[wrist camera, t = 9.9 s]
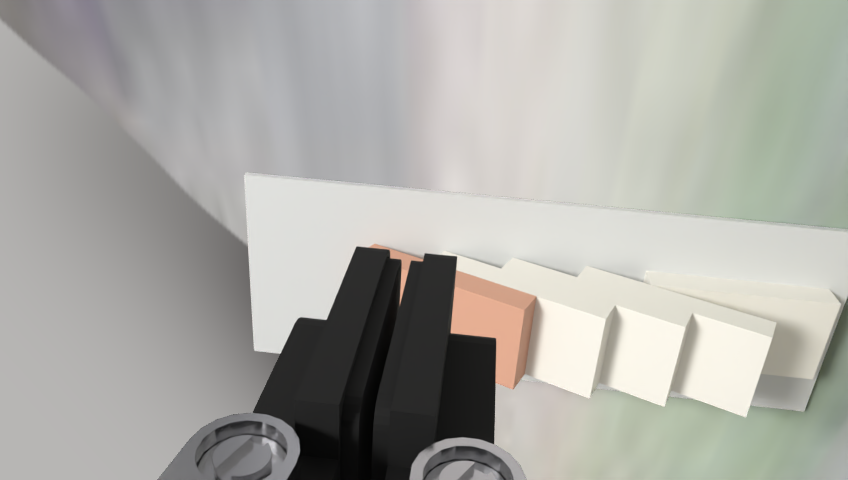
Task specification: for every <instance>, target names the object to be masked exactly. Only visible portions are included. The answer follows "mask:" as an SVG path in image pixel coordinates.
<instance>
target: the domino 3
mask: <svg viewBox="0 0 848 480" xmlns="http://www.w3.org/2000/svg"><path fill="white" fill-rule="evenodd" d="M501 269H504V270H507V271H510V272H513V273H516V274H520V275H523V276H526V277H529V278H532V279H535V280H538V281H542V282H545V283H548V284H551V285H554V286H557V287H560V288H564V289H567V290H570V291H573V292H576V293H579V294H582V295H586V296H589V297H592V298H595V299H598V300H601V301H604V302H608V303H611V304H614V305H615V309H614V314H613V319H612V323H611V328H610V333H609V338H608V342H607V347H606V352H605V357H604V361H603V366H602V371H601V376H600V380H599V383H601V384H603V385H606V386H609V387H612V388H614V389H617V390H620V391H622V392H625V393H628V394H631V395H633V396H636V397H639V398H641V399H644V400H647V401H650V402H652V403H655V404H658V405H660V406H663V407H665V405H666V402H667V400H668V398H669V395H670V393H671V391H672V387H673V383H674V380H675V376H676V372H677V369H678V365H679V361H680V357H681V354H682V350H683V346H684V342H685V339H686V335H687V331H688V328H689V324H690V320H691V316H692V313H691V312H688V311H685V310H682V309H678V308H675V307H672V306H669V305H665V304H662V303H659V302H656V301H652V300H649V299H646V298H643V297H639V296H636V295H633V294H630V293H627V292H623V291H620V290H617V289H614V288H610V287H607V286H604V285H601V284H597V283H594V282H591V281H588V280H584V279H581V278H578V277H575V276H572V275H568V274H565V273H562V272H559V271H555V270H552V269H549V268H546V267H542V266H539V265H536V264H533V263H529V262H526V261H523V260H520V259H516V258H512V259H511V260H510V261H509V262H507V263H506V264H505V265H504V266H503V267H502V268H501Z"/></svg>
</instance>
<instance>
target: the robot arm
mask: <svg viewBox="0 0 848 480" xmlns="http://www.w3.org/2000/svg"><path fill="white" fill-rule="evenodd" d="M456 267H457V256H448V255H438V254H428V253H425V254H424V259H423V261H413V260H411V262H410V266H409V270H408V275H407V279H406V283H405V287H404V291H403V295H402V299H401V303H400V289H401V270H402V261H401V259H393V258H390V250H389V249H379V248H369V247H359V246H357V247H356V249H355V251H354V253H353V256H352V258H351V261H350V263H349V266H348V268H347V271H346V273H345V276H344V278H343V280H342V283H341V285H340V288H339V290H338V293H337V295H336V298H335V300H334V303H333V305H332V308H331V310H330V313H329V315H328V318H327V320H323V319H314V318H304V317H300V318H298V319H297V321H296V322H295V324H294V326H293V328H292V330H291V333H290V335H289V337H288V339H287V341H286V343H285V345H284V347H283V349H282V352H281V354H280V356H279V358H278V360H277V362H276V364H275V366H274V368H273V371H272V373H271V375H270V377H269V379H268V381H267V383H266V385H265V388H264V390H263V392H262V394H261V396H260V398H259V400H258V402H257V405H256V407H255V409H254V411H253V413H243V414H233V415H230V416H227V417H223V418H220V419H217V420H215V421H213V422H211V423H209V424H208V425H206V426H204V427H202V428H201V429H200V430H199V431H198V432H197V433H196V434H194V435H193V436H192V437H191V438H190V439H189V441H188V442H187V443H186V444H185V446H184V447H183V448H182V449H181V451H180V452H179V453H178V454H177V456H176V457H175V458H174V459H173V461H172V462H171V463H170V464H169V466H168V467H167V468H166V470H165V471H164V472H163V473H162V475H161V476H160V477H159V478H158V480H527V479H526V477H525V474H524V472H523V470H522V468H521V465H520V464H519V463H518V462H517V461H516V460H515V459H514V458H513V457H512V455H511V454H509V453H508V452H506V451H505V450H503V449H502V448H500V447H498V446H497V445H494V425H495V382H496V338H491V337H482V336H472V335H463V334H454V333H451V322H452V311H453V300H454V289H455V278H456Z"/></svg>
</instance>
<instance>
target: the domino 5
mask: <svg viewBox="0 0 848 480" xmlns="http://www.w3.org/2000/svg"><path fill="white" fill-rule="evenodd" d="M643 283H646V284H649V285H653V286H656V287H659V288H663V289H666V290H669V291H673V292H676V293H679V294H683V295H686V296H689V297H693V298H696V299H699V300H703V301H706V302H709V303H713V304H716V305H719V306H723V307H726V308H729V309H733V310H736V311H739V312H743V313H746V314H749V315H753V316H756V317H759V318H763V319H766V320H769V321H773V322H776V326H775V330H774V334H773V338H772V341H771V344H770V347H769V350H768V353H767V356H766V359H765V362H764V365H763V368H762V371H761V374H767V375H777V376H786V377H795V378H804V379H813V377H814V375H815V372H816V370H817V367H818V364H819V362H820V359H821V356H822V354H823V351H824V348H825V346H826V343H827V340H828V338H829V335H830V332H831V330H832V327H833V324H834V322H835V319H836V316H837V314H838V311H839V308H840V306H841V303H840V302H839V301H838V300H837V298H836V297H835V296H834V294H833V293H832V292H831V291H830V289H824V288H814V287H804V286H794V285H784V284H774V283H764V282H754V281H744V280H734V279H724V278H714V277H704V276H694V275H684V274H674V273H664V272H654V271H646V273H645V277H644V282H643Z"/></svg>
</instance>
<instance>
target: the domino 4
mask: <svg viewBox="0 0 848 480" xmlns="http://www.w3.org/2000/svg"><path fill="white" fill-rule="evenodd" d="M578 278H581V279H584V280H588V281H591V282H594V283H597V284H601V285H604V286H607V287H610V288H614V289H617V290H620V291H623V292H627V293H630V294H633V295H636V296H639V297H643V298H646V299H649V300H652V301H656V302H659V303H662V304H665V305H669V306H672V307H675V308H678V309H682V310H685V311H688V312H691V313H692V316H691V320H690V324H689V328H688V331H687V335H686V339H685V342H684V346H683V350H682V354H681V357H680V361H679V365H678V369H677V372H676V376H675V380H674V383H673V387H672V391H674V392H676V393H679V394H682V395H685V396H688V397H690V398H693V399H696V400H699V401H702V402H704V403H707V404H710V405H713V406H716V407H718V408H721V409H724V410H727V411H730V412H732V413H735V414H738V415H741V416H744V417H746V416H747V413H748V410H749V407H750V404H751V401H752V398H753V395H754V392H755V389H756V386H757V383H758V380H759V377H760V374H761V371H762V368H763V365H764V362H765V359H766V356H767V353H768V350H769V347H770V344H771V341H772V338H773V334H774V330H775V326H776V322H773V321H769V320H766V319H763V318H759V317H756V316H753V315H749V314H746V313H743V312H739V311H736V310H733V309H729V308H726V307H723V306H719V305H716V304H713V303H709V302H706V301H703V300H699V299H696V298H693V297H689V296H686V295H683V294H679V293H676V292H673V291H669V290H666V289H663V288H659V287H656V286H653V285H649V284H646V283H643V282H639V281H636V280H633V279H629V278H626V277H623V276H619V275H616V274H613V273H609V272H606V271H603V270H599V269H596V268H593V267H589V266H586V267H585V268H584V269H583V271H582V272H581V273H580V274H579V276H578Z"/></svg>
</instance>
